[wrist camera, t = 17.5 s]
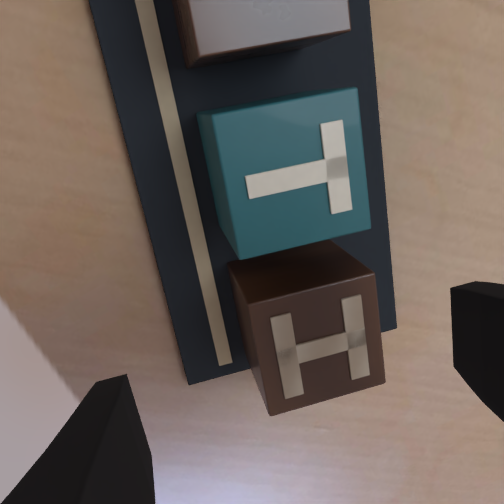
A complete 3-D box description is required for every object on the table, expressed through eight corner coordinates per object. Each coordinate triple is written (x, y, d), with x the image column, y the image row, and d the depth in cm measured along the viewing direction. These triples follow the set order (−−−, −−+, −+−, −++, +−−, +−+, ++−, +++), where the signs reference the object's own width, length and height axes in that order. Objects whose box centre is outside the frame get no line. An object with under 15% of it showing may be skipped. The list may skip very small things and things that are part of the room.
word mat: (187, 379, 21) (188, 386, 21) (67, -84, 15) (65, -90, 15) (392, 324, 23) (398, 329, 22) (353, -121, 17) (360, -128, 16)
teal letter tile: (219, 227, 19) (240, 262, 15) (195, 112, 18) (211, 114, 13) (324, 202, 20) (373, 230, 15) (309, 90, 18) (360, 86, 14)
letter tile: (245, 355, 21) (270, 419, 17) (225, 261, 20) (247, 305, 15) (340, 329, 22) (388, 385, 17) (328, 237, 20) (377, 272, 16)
